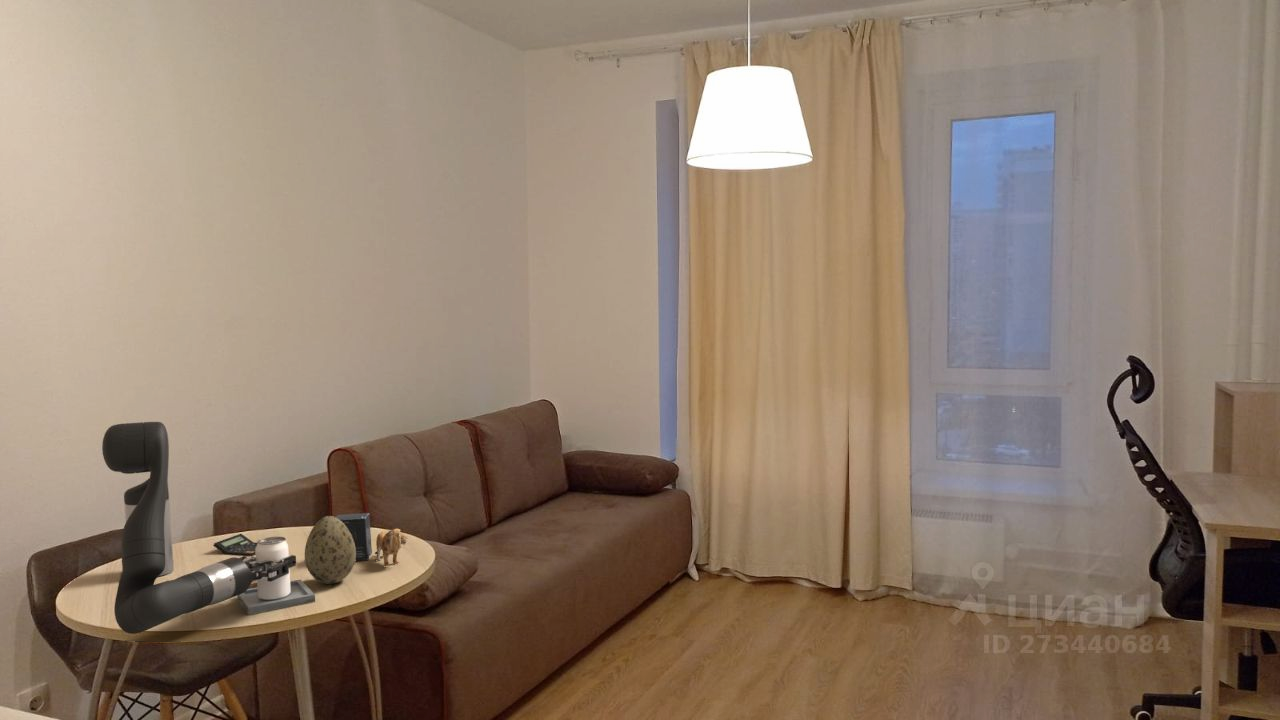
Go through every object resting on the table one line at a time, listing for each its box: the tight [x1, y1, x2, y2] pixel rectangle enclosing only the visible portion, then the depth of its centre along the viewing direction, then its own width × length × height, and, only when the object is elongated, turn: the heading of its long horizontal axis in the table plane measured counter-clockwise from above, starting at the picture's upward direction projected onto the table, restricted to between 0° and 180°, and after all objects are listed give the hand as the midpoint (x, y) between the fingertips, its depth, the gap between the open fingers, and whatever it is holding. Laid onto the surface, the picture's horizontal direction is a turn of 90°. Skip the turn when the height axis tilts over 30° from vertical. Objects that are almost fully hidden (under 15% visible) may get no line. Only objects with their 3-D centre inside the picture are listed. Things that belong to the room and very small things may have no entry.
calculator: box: [213, 533, 258, 557], centre depth 234 cm, size 9×12×3 cm
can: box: [255, 536, 291, 601], centre depth 193 cm, size 6×6×12 cm
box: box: [335, 512, 373, 561], centre depth 223 cm, size 8×6×11 cm
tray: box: [236, 579, 316, 616], centre depth 194 cm, size 13×13×2 cm
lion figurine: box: [374, 528, 409, 567], centre depth 219 cm, size 15×5×9 cm, turn 40°
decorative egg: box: [304, 515, 356, 585], centre depth 204 cm, size 11×11×15 cm
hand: (282, 558), depth 195 cm, fingers open, 6 cm apart
